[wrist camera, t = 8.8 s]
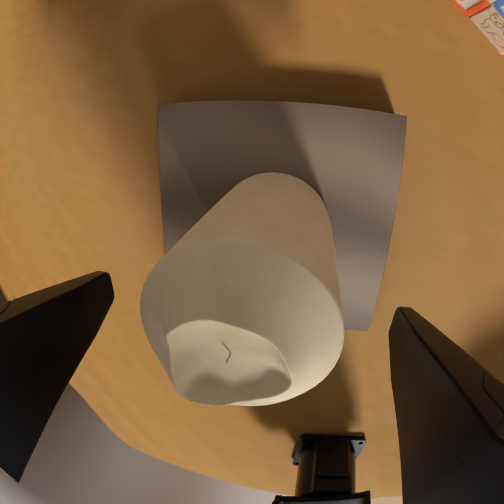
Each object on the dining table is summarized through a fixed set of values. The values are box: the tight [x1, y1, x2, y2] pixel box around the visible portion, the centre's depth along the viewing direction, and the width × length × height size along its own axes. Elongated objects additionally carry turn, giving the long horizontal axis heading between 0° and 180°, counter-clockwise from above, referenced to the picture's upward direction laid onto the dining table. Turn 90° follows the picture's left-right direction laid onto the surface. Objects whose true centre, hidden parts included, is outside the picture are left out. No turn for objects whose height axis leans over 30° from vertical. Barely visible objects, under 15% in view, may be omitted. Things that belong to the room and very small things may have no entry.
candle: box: [140, 172, 344, 406], centre depth 11 cm, size 6×6×10 cm
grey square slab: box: [158, 100, 407, 331], centre depth 16 cm, size 12×12×2 cm
